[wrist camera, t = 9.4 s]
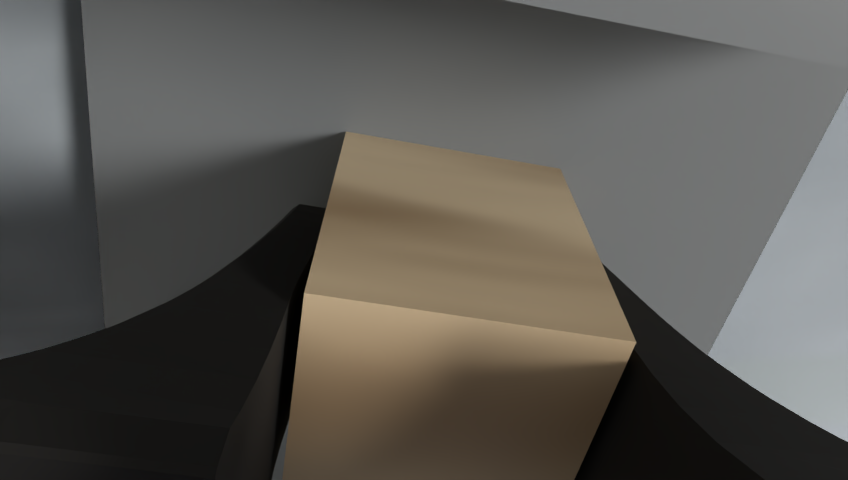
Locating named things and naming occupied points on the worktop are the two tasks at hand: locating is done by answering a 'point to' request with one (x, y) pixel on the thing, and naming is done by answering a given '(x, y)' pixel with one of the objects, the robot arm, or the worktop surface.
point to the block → (451, 323)
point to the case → (459, 124)
